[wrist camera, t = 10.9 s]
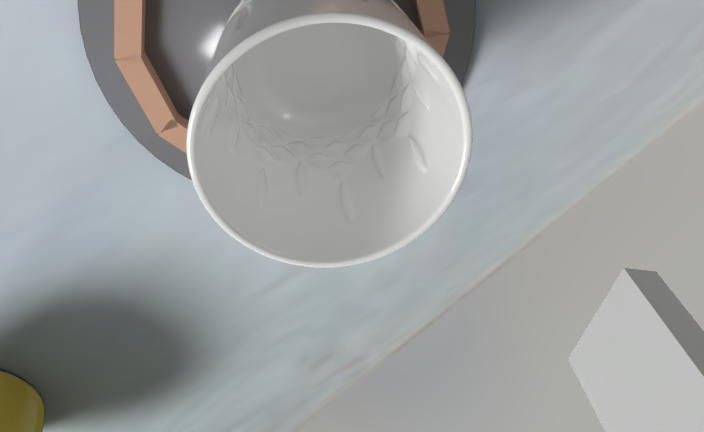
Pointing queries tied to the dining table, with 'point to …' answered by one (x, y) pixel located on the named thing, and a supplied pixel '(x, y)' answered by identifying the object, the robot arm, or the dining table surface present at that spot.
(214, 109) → the white cup
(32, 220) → the dining table surface
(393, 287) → the dining table surface
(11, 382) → the plant pot
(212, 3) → the trivet
